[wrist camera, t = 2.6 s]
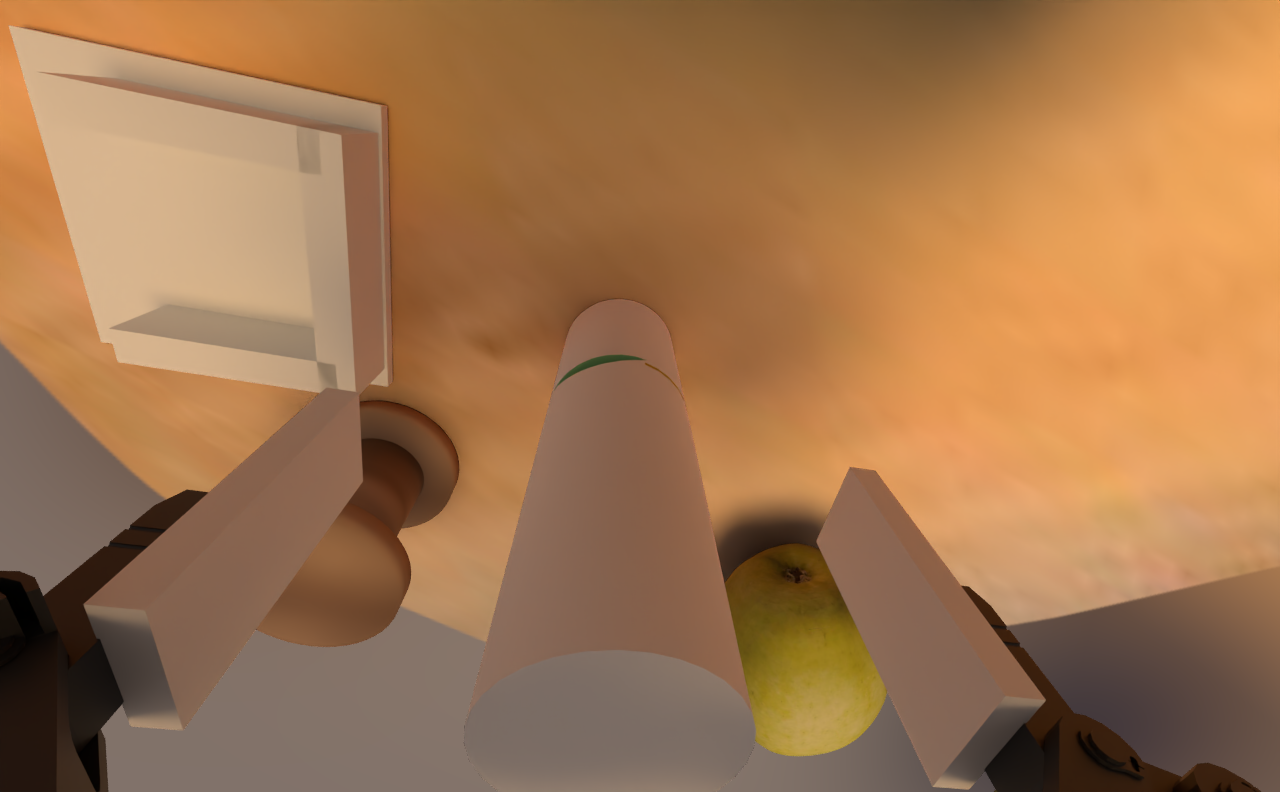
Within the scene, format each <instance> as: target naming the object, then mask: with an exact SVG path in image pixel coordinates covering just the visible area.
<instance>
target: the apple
mask: <svg viewBox="0 0 1280 792" xmlns="http://www.w3.org/2000/svg"><path fill="white" fill-rule="evenodd" d="M724 584H725V588H726V593H727V598H728V602H729V607H730V612H731V616H732V621H733V625H734V630H735V635H736V639H737V644H738V649H739V653H740V658H741V662H742V667H743V672H744V676H745V681H746V686H747V690H748V695H749V700H750V704H751V709H752V713H753V718H754V723H755V727H756V736H755V741H756V742H757V743H759V744H760V745H762V746H763V747H765V748H766V749H768V750H770V751H772V752H775V753H778V754H782V755H787V756H810V755H817V754H823V753H827V752H831V751H835V750H837V749H840V748H842V747H844V746H846V745H848V744H850V743H851V742H853V741H854V740H856V739H857V738H858V737H859V736H861V735H862V734H863V733H864V732H865V731H866V730H867V728H868V727H869V726H870V725H871V724H872V722H873V721H874V719H875V718H876V716H877V715H878V713H879V711H880V709H881V707H882V705H883V703H884V701H885V697H886V694H887V690H886V688H885V686H884V683H883V681H882V679H881V677H880V675H879V673H878V671H877V669H876V667H875V664H874V662H873V660H872V658H871V656H870V654H869V652H868V650H867V648H866V645H865V643H864V641H863V639H862V637H861V635H860V633H859V631H858V629H857V627H856V624H855V622H854V620H853V618H852V616H851V614H850V612H849V610H848V608H847V605H846V603H845V601H844V599H843V597H842V595H841V593H840V591H839V589H838V586H837V584H836V582H835V580H834V578H833V576H832V574H831V572H830V570H829V568H828V565H827V563H826V561H825V559H824V557H823V555H822V553H821V551H820V549H818V548H815V547H812V546H809V545H806V544H798V543H792V544H784V545H780V546H776V547H773V548H769V549H767V550H764V551H762V552H760V553H758V554H756V555H755V556H754V557H752V558H750V559H748V560H746V561H745V562H744V563H742V564H741V565H740V566H739V567H738V568H736V569H735V570H734V572H733V573H732V574H731V575H730V576H729V578H728V579H727V580H726V582H725V583H724Z"/></svg>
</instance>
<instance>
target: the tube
mask: <svg viewBox="0 0 1280 792" xmlns="http://www.w3.org/2000/svg"><path fill="white" fill-rule="evenodd" d="M755 736H756V727H755V723H754V718H753V713H752V709H751V704H750V700H749V695H748V690H747V686H746V681H745V676H744V672H743V667H742V662H741V658H740V653H739V649H738V644H737V639H736V635H735V630H734V625H733V621H732V616H731V612H730V607H729V602H728V598H727V593H726V588H725V584H724V579H723V575H722V570H721V565H720V561H719V556H718V551H717V547H716V542H715V538H714V533H713V528H712V524H711V519H710V514H709V510H708V505H707V500H706V496H705V491H704V487H703V482H702V477H701V473H700V468H699V463H698V459H697V454H696V450H695V445H694V440H693V436H692V431H691V427H690V423H689V418H688V414H687V409H686V404H685V400H684V395H683V391H682V386H681V382H680V377H679V373H678V368H677V364H676V359H675V354H674V350H673V345H672V341H671V336H670V333H669V331H668V329H667V327H666V324H665V323H664V322H663V320H662V319H661V318H660V317H659V315H657V314H656V313H655V312H654V311H653V310H652V309H650V308H648V307H647V306H645V305H643V304H641V303H638V302H635V301H632V300H625V299H610V300H606V301H602V302H599V303H596V304H594V305H592V306H590V307H588V308H587V309H586V310H584V311H583V312H582V313H581V314H580V315H579V316H578V317H577V318H576V319H575V320H574V322H573V324H572V325H571V327H570V329H569V331H568V334H567V338H566V341H565V345H564V349H563V353H562V357H561V360H560V364H559V368H558V372H557V376H556V380H555V383H554V387H553V391H552V395H551V399H550V403H549V407H548V410H547V414H546V418H545V421H544V425H543V429H542V433H541V436H540V440H539V444H538V448H537V452H536V455H535V459H534V463H533V467H532V471H531V475H530V478H529V482H528V486H527V490H526V494H525V497H524V501H523V505H522V509H521V513H520V516H519V520H518V524H517V528H516V532H515V536H514V539H513V543H512V547H511V551H510V555H509V558H508V562H507V566H506V570H505V574H504V578H503V581H502V585H501V589H500V593H499V597H498V600H497V604H496V608H495V612H494V616H493V620H492V623H491V627H490V631H489V635H488V639H487V642H486V646H485V650H484V654H483V658H482V662H481V665H480V669H479V673H478V677H477V681H476V684H475V688H474V692H473V696H472V700H471V704H470V708H469V711H468V715H467V719H466V723H465V726H464V746H465V749H466V752H467V755H468V758H469V761H470V762H471V764H472V765H473V767H474V768H475V769H476V771H477V772H478V774H479V775H480V776H481V777H482V778H483V779H484V780H485V781H486V782H487V783H489V784H490V785H491V786H492V787H493V788H494V789H496V790H497V791H499V792H716V791H717V790H719V789H721V788H722V787H724V786H725V785H726V784H727V783H728V782H730V781H731V780H732V779H733V778H734V777H736V775H737V774H738V773H739V772H740V771H741V769H742V768H743V767H744V765H746V763H747V761H748V759H749V757H750V755H751V753H752V751H753V749H754V744H755Z"/></svg>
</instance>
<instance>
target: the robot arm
mask: <svg viewBox="0 0 1280 792" xmlns="http://www.w3.org/2000/svg"><path fill="white" fill-rule="evenodd" d="M362 482H363V470H362V449H361V428H360V407H359V392H353V391H346V390H340V389H333V388H327V387H326V388H325V389H324V390H323V391H322V392H321V393H320V394H319V395H318V396H316V397H315V398H314V399H313V400H312V401H311V402H310V403H309V404H307V405H306V406H305V407H304V408H303V409H302V410H301V411H300V412H298V413H297V414H296V415H295V416H294V417H293V418H292V419H291V420H289V421H288V422H287V423H286V424H285V425H284V426H283V427H282V428H281V429H279V430H278V431H277V432H276V433H275V434H274V435H273V436H272V437H270V438H269V439H268V440H267V441H266V442H265V443H264V444H263V445H261V446H260V447H259V448H258V449H257V450H256V451H255V452H254V453H252V454H251V455H250V456H249V457H248V458H247V459H246V460H245V461H243V462H242V463H241V464H240V465H239V466H238V467H237V468H236V469H235V470H233V471H232V472H231V473H230V474H229V475H228V476H227V477H226V478H224V479H223V480H222V481H221V482H220V483H219V484H218V485H217V486H215V487H214V488H213V489H212V490H211V491H210V492H201V491H193V490H185V491H183V492H181V493H179V494H177V495H175V496H173V497H171V498H169V499H167V500H165V501H163V502H161V503H158V504H156V505H155V506H153V507H152V508H151V509H150V510H148V511H147V512H146V513H145V514H143V515H142V516H141V517H140V518H138V519H137V520H136V521H135V522H134V523H132V524H131V525H130V528H129V530H127V529H125V530H124V531H123V532H121V533H120V534H119V535H118V536H117V537H115V538H114V539H113V540H112V541H110V544H109V546H108V547H105V546H104V547H103V548H102V549H100V550H99V551H98V552H97V553H96V554H94V555H93V556H92V557H91V558H89V559H88V560H87V561H86V562H84V563H83V564H82V565H81V566H80V567H79V568H77V569H76V570H75V571H74V572H72V573H71V574H70V575H69V576H67V577H66V578H65V579H64V580H62V581H61V582H60V583H59V584H58V585H56V586H55V587H54V588H53V589H51V590H50V591H49V592H48V593H47V594H45V595H44V596H43V595H42V592H41V590H40V588H39V586H38V584H37V582H36V579H35V577H32V576H30V575H27V574H25V573H22V572H20V571H0V792H108V778H107V760H106V744H105V738H104V735H103V733H102V731H101V728H102V727H103V725H104V724H105V723H106V722H107V721H108V720H109V719H110V717H111V716H112V715H113V714H114V712H116V710H117V709H118V708H119V707H120V706H121V705H123V708H124V710H125V713H126V715H127V718H128V720H129V723H130V725H131V726H132V727H145V728H159V729H172V730H184V729H185V727H186V726H187V724H188V723H189V722H190V720H191V719H192V717H193V716H194V715H195V713H196V712H197V711H198V709H199V708H200V706H201V705H202V704H203V702H204V701H205V699H206V698H207V697H208V695H209V694H210V693H211V691H212V690H213V688H214V687H215V686H216V684H217V683H218V682H219V680H220V679H221V677H222V676H223V675H224V673H225V672H226V670H227V669H228V668H229V666H230V665H231V663H232V662H233V661H234V659H235V658H236V657H237V655H238V654H239V652H240V651H241V650H242V648H243V647H244V645H245V644H246V642H247V641H248V640H249V639H250V637H251V636H252V634H253V633H254V632H255V630H256V629H257V628H258V626H259V625H260V623H261V622H262V621H263V619H264V618H265V616H266V615H267V614H268V612H269V611H270V610H271V608H272V607H273V605H274V604H275V603H276V601H277V600H278V598H279V597H280V596H281V594H282V593H283V592H284V590H285V589H286V587H287V586H288V585H289V583H290V582H291V580H292V579H293V578H294V576H295V575H296V574H297V572H298V571H299V569H300V568H301V567H302V565H303V564H304V562H305V561H306V560H307V558H308V557H309V556H310V554H311V553H312V551H313V550H314V549H315V547H316V546H317V544H318V543H319V542H320V540H321V539H322V538H323V536H324V535H325V533H326V532H327V531H328V529H329V528H330V526H331V525H332V524H333V522H334V521H335V519H336V518H337V517H338V515H339V514H340V513H341V511H342V510H343V508H344V507H345V506H346V504H347V503H348V501H349V500H350V499H351V497H352V496H353V495H354V493H355V492H356V490H357V489H358V488H359V486H360V485H361V483H362ZM816 542H817V544H818V546H819V549H820V551H821V553H822V555H823V557H824V559H825V561H826V563H827V565H828V568H829V570H830V572H831V574H832V576H833V578H834V580H835V582H836V584H837V586H838V589H839V591H840V593H841V595H842V597H843V599H844V601H845V603H846V605H847V608H848V610H849V612H850V614H851V616H852V618H853V620H854V622H855V624H856V627H857V629H858V631H859V633H860V635H861V637H862V639H863V641H864V643H865V645H866V648H867V650H868V652H869V654H870V656H871V658H872V660H873V662H874V664H875V667H876V669H877V671H878V673H879V675H880V677H881V679H882V681H883V683H884V686H885V688H886V690H887V692H888V694H889V696H890V698H891V700H892V702H893V704H894V707H895V709H896V711H897V713H898V715H899V717H900V719H901V721H902V723H903V726H904V728H905V730H906V732H907V734H908V736H909V738H910V740H911V742H912V744H913V747H914V749H915V751H916V753H917V755H918V757H919V759H920V761H921V763H922V765H923V768H924V770H925V772H926V774H927V776H928V778H929V780H930V782H931V785H932V786H933V787H943V788H957V789H970V788H971V787H972V785H973V784H974V783H975V782H976V781H977V780H978V778H979V777H980V776H981V775H982V774H983V773H984V772H985V771H986V773H987V775H988V777H989V778H990V780H991V782H992V784H993V786H994V787H995V789H996V790H995V791H994V792H1261V791H1260V790H1258V789H1257V788H1256V787H1253V785H1251V784H1250V783H1249V782H1247V781H1246V780H1244V779H1243V778H1241V777H1239V776H1237V775H1235V774H1234V773H1232V772H1230V771H1228V770H1226V769H1225V768H1222V767H1219V766H1216V765H1213V764H1210V763H1201V764H1197V765H1195V766H1194V767H1193V768H1192V769H1191V770H1189V771H1188V772H1187V773H1186V774H1185V775H1184V776H1183V777H1181V776H1178V775H1176V774H1173V773H1170V772H1168V771H1165V770H1163V769H1160V768H1158V767H1155V766H1153V765H1150V764H1147V763H1145V762H1142V760H1141V759H1140V757H1139V756H1138V755H1137V753H1136V752H1135V751H1134V750H1133V749H1132V748H1131V747H1130V746H1129V745H1128V744H1127V743H1126V742H1125V741H1124V740H1123V739H1122V738H1121V737H1120V736H1119V735H1117V734H1116V733H1114V732H1113V731H1112V730H1110V729H1109V728H1107V727H1106V726H1105V725H1103V724H1102V723H1100V722H1098V721H1096V720H1093V719H1091V718H1089V717H1087V716H1085V715H1080V714H1075V713H1073V711H1072V710H1071V709H1070V708H1069V706H1068V705H1067V704H1066V702H1065V701H1064V700H1063V699H1062V697H1061V696H1060V695H1059V693H1058V692H1057V691H1056V689H1055V688H1054V687H1053V686H1052V684H1051V683H1050V682H1049V680H1048V679H1047V678H1046V677H1045V675H1044V674H1043V673H1042V671H1041V670H1040V669H1039V667H1038V666H1037V665H1036V664H1035V662H1034V661H1033V660H1032V659H1031V657H1030V656H1029V655H1028V653H1027V652H1026V651H1025V649H1024V648H1021V647H1020V645H1019V644H1020V643H1019V642H1018V640H1017V639H1016V638H1015V636H1014V635H1013V634H1012V633H1011V631H1009V630H1007V629H1006V627H1007V626H1006V625H1005V624H1004V622H1003V621H1002V620H1001V618H1000V617H999V616H998V615H997V613H996V612H995V611H994V609H993V608H992V607H991V606H990V605H989V604H988V603H987V602H986V601H985V600H983V599H982V598H981V597H980V596H979V595H978V594H977V593H975V592H974V591H973V590H972V589H971V588H970V587H967V586H961V585H960V584H959V582H958V581H957V580H956V578H955V577H954V576H953V574H952V573H951V572H950V570H949V569H948V568H947V566H946V565H945V564H944V562H943V561H942V560H941V558H940V557H939V556H938V554H937V553H936V552H935V550H934V549H933V548H932V546H931V545H930V543H929V542H928V541H927V539H926V538H925V537H924V535H923V534H922V533H921V531H920V530H919V529H918V527H917V526H916V525H915V523H914V522H913V521H912V519H911V518H910V517H909V515H908V514H907V513H906V511H905V510H904V509H903V507H902V506H901V505H900V503H899V502H898V500H897V499H896V498H895V496H894V495H893V494H892V492H891V491H890V490H889V488H888V487H887V486H886V484H885V483H884V482H883V480H882V479H881V478H880V476H879V475H878V474H877V472H876V471H874V470H867V469H861V468H854V467H850V468H849V470H848V472H847V474H846V477H845V479H844V481H843V483H842V485H841V488H840V490H839V492H838V494H837V496H836V499H835V501H834V503H833V505H832V507H831V510H830V512H829V514H828V516H827V518H826V521H825V523H824V525H823V527H822V529H821V532H820V534H819V536H818V538H817V540H816Z"/></svg>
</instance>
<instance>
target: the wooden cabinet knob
mask: <svg viewBox="0 0 1280 792" xmlns="http://www.w3.org/2000/svg"><path fill="white" fill-rule="evenodd" d="M359 407H360V428H361V449H362V470H363V482H362V483H361V485H360V486H359V488H358V489H357V490H356V492H355V493H354V495H353V496H352V497H351V499H350V500H349V501H348V503H347V504H346V506H345V507H344V508H343V510H342V511H341V513H340V514H339V515H338V517H337V518H336V519H335V521H334V522H333V524H332V525H331V526H330V528H329V529H328V531H327V532H326V533H325V535H324V536H323V538H322V539H321V540H320V542H319V543H318V544H317V546H316V547H315V549H314V550H313V551H312V553H311V554H310V556H309V557H308V558H307V560H306V561H305V562H304V564H303V565H302V567H301V568H300V569H299V571H298V572H297V574H296V575H295V576H294V578H293V579H292V580H291V582H290V583H289V585H288V586H287V587H286V589H285V590H284V592H283V593H282V594H281V596H280V597H279V598H278V600H277V601H276V603H275V604H274V605H273V607H272V608H271V610H270V611H269V612H268V614H267V615H266V616H265V618H264V619H263V621H262V622H261V623H260V625H259V626H258V628H257V629H256V630H258V631H260V632H263V633H265V634H267V635H270V636H272V637H275V638H278V639H281V640H284V641H287V642H291V643H296V644H301V645H308V646H318V647H336V646H344V645H350V644H355V643H359V642H362V641H364V640H367V639H369V638H371V637H374V636H375V635H377V634H378V633H380V632H382V631H383V630H384V629H385V628H386V627H387V626H388V625H389V624H390V623H391V622H392V620H393V619H394V617H395V615H396V614H397V612H398V609H399V607H400V605H401V603H402V601H403V599H404V596H405V594H406V592H407V590H408V587H409V584H410V580H411V566H410V561H409V558H408V555H407V553H406V551H405V548H404V547H403V545H402V543H401V542H400V540H399V539H398V538H397V535H398V533H399V531H400V530H401V528H408V527H412V526H417V525H419V524H422V523H425V522H427V521H429V520H430V519H432V518H433V517H435V516H436V515H437V514H439V513H440V512H441V511H442V510H443V508H444V507H445V506H446V504H447V502H448V500H449V498H450V496H451V494H452V492H453V490H454V488H455V485H456V483H457V480H458V475H459V461H458V456H457V453H456V450H455V448H454V446H453V444H452V442H451V440H450V439H449V438H448V436H447V435H446V434H445V432H444V431H443V430H442V429H441V428H440V427H439V426H438V425H437V424H436V423H434V422H433V421H432V420H431V419H429V418H428V417H426V416H425V415H423V414H421V413H420V412H418V411H416V410H414V409H411V408H409V407H406V406H403V405H400V404H396V403H392V402H385V401H365V402H359Z"/></svg>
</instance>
